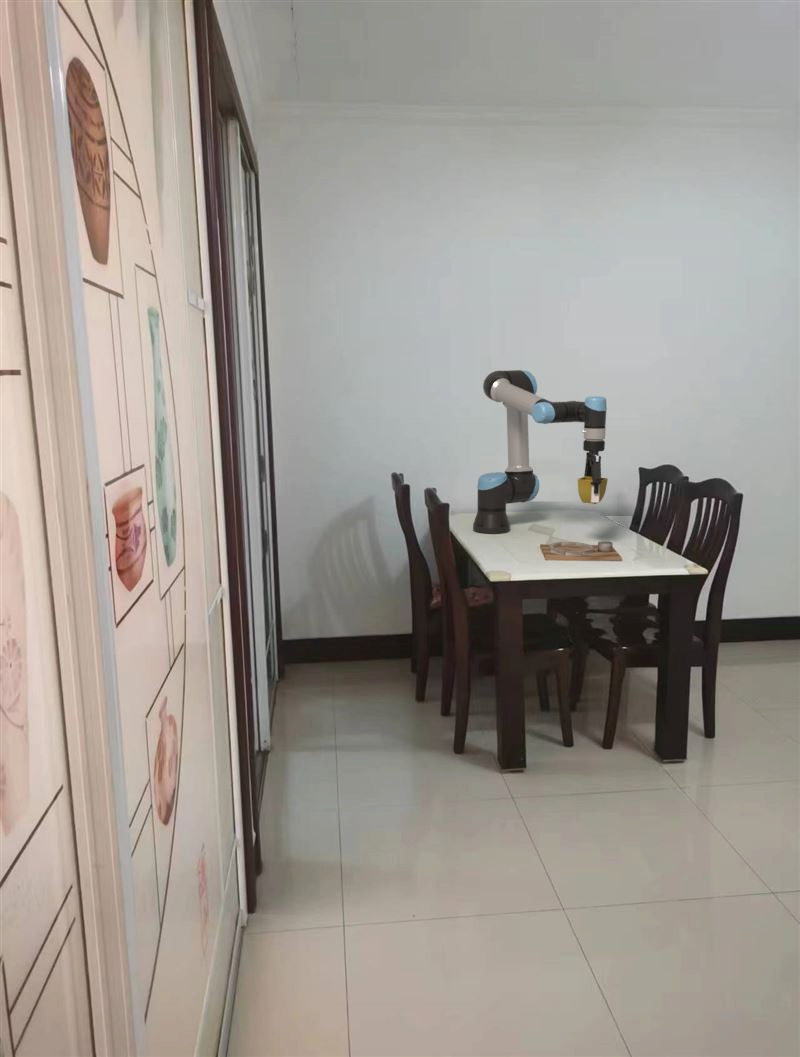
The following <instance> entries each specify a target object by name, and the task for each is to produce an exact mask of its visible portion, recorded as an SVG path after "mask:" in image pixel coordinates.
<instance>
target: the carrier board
mask: <svg viewBox="0 0 800 1057" xmlns="http://www.w3.org/2000/svg"><path fill="white" fill-rule="evenodd" d="M613 546H614V545H613V542H611V541H605V540H604V541H603V540H602V541H601V540H600V541H597V544H588V543H585V542H579V541H558V542H553V543H548V544H547V543H543V544H542V543H541V544H540V545H539V548H540V550H541V553H542V554H543V557H544V560H545V561H577V562H578V561H581V562H582V561H585V562H586V561H591V562H592V561H594V562H602V561H603V562H622V561H623V560H622V559H623V557H622V556H621V555H620V554H619V552H618V551H617V550H616V549H615V548H614V547H613Z"/></svg>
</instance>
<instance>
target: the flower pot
mask: <svg viewBox="0 0 800 1057" xmlns="http://www.w3.org/2000/svg"><path fill="white" fill-rule="evenodd" d="M608 479H609V478H606V477H601V483H600V490H599V502H591V489H592V485H591V482H592V477H585V476H583V477H579V478H577V491H578V496H579V498H580V500H581V502H582V503H583V504H593V505H596V504H599V503H600V502H601V501H602V500H603V498H604V496H605V494H606V490H607V485H608Z"/></svg>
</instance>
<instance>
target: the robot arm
mask: <svg viewBox="0 0 800 1057" xmlns="http://www.w3.org/2000/svg"><path fill="white" fill-rule="evenodd" d="M482 385H483V386H482V388H483V393H484V395H485V396H486V397H487V398H488V399H490V400H491V401H494V402H496V403H502V406H504V408H506V425H507V426H506V428H507V430H506V431H507V433H506V435H507V436H506V437H507V461H508V464H507V465H508V466H507V467H506V468H505V470H504V472H501V471H499V472H497V471H496V472H489V473H484V474H482V475H480V476H479V477H478V479H477V486H476V487H477V512H476V515H475V518H474V521H473V524H472V531H473V532H475V533H480V534H492V535H493V534H494V535H495V534H504V533H505V534H506V533H508V532H510V530H511V525H510V521H509V517H508V514H507V504H516V503H526V502H531V501H533V500H534V499H535V498H536V497H537V495H538V494H539V491H540V480H539V478H538V477H539V476H537V474H535V473H534V469H533V468H532V467H531V466H530V448H529V445H530V443H529V441H530V440H529V416H531V418H532V419H533V420H534V422H535V423H537V424H544V425H546V424H547V425H548V424H559V423H584V426H583V430H582V434H583V439H584V440H583V442H582V443H583V444H582V449H583V451H584V452H586V455H585V456H586V458H585V467H584V476H583V477H592V482H591V485H592V489H591V502H599V490H600V483H601V478H602V468H601V467H602V466H601V465H602V464H601V460H602V456H601V455H599V452H604V451H605V446H606V441H605V440H606V430H607V429H606V424H607V423H606V421H607V410H608V408H607V398H606V397H605V396H587V397H585V399H584V401H578V400H567V401H551V400H548V399H545V398H543V397H541V396H539V395H537V394H536V393H538V392H537V391H538V384H537V380H536V378H535V376H534V375H533V373H531V372H530V371H528V370H521V369H518V370H517V369H516V370H515V369H514V370H495V371H492V372H490V373H489V374H488V375H487V376H486V377H485V379H484V380H483V384H482ZM599 503H600V502H599Z"/></svg>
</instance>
